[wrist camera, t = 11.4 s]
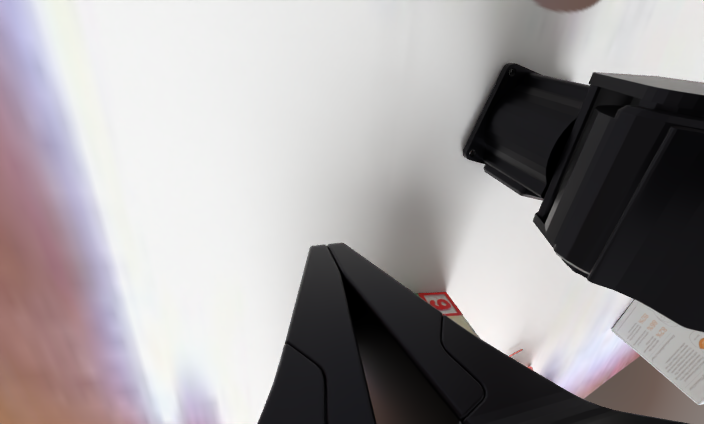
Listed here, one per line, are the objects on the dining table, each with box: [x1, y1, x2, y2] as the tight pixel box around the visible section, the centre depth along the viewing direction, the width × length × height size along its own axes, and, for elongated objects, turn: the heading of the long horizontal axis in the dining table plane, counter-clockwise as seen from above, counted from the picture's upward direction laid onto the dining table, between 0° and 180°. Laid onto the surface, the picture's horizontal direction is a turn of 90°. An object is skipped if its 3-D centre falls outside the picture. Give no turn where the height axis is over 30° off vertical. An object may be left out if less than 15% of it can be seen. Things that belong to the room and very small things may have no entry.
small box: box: [612, 300, 704, 405], centre depth 39 cm, size 8×6×10 cm
